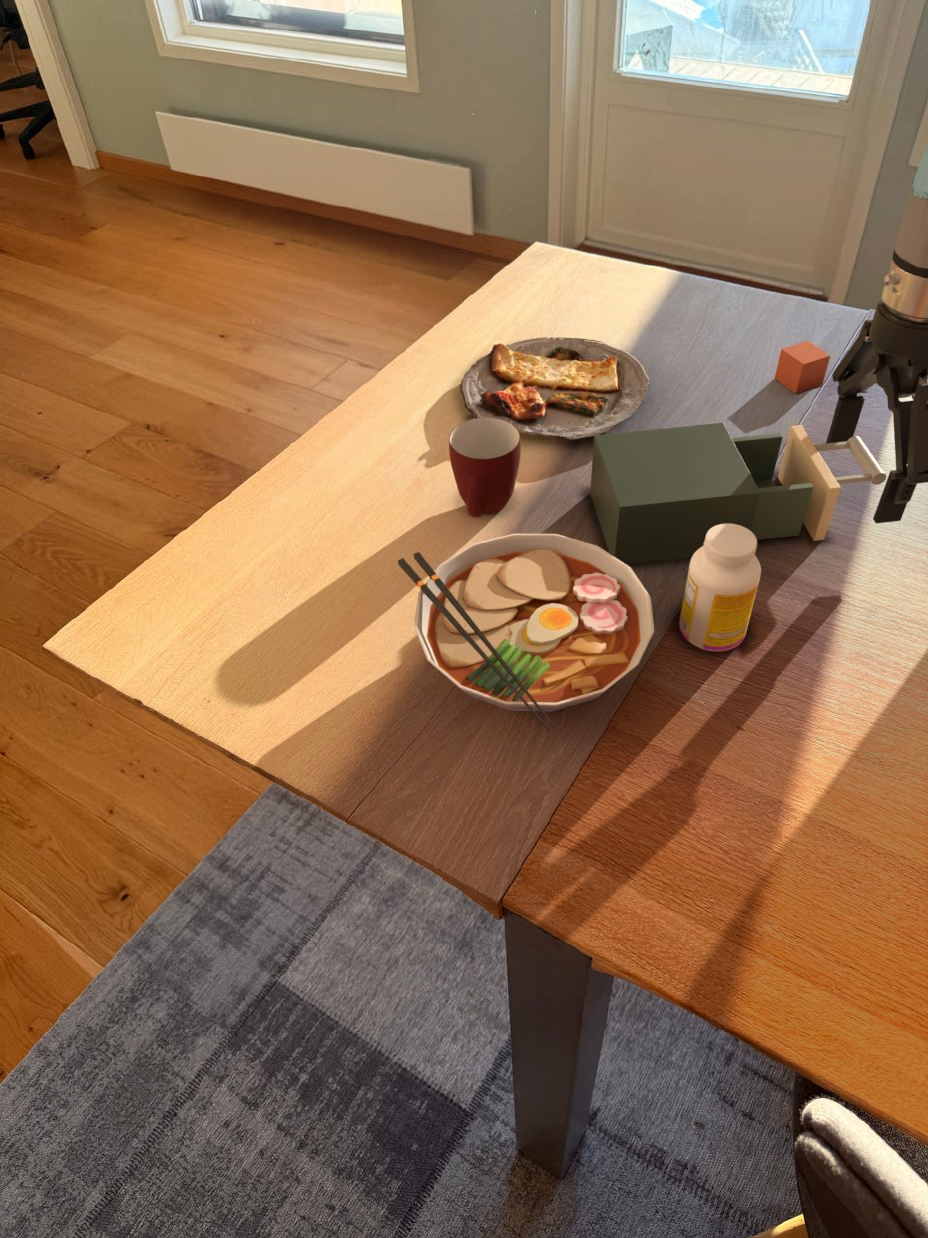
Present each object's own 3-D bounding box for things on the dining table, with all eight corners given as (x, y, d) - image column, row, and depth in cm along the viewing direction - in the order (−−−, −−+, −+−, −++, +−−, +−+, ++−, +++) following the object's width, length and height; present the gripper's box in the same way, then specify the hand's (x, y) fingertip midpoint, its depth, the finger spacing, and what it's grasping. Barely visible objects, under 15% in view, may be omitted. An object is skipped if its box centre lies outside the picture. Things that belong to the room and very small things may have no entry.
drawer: (838, 471, 109) (855, 419, 103) (879, 534, 101) (899, 481, 95) (675, 488, 108) (683, 436, 102) (703, 553, 100) (713, 500, 94)
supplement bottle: (757, 632, 93) (783, 538, 83) (719, 668, 90) (742, 574, 80) (702, 601, 96) (722, 506, 87) (664, 634, 93) (680, 540, 84)
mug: (517, 544, 104) (516, 474, 96) (447, 542, 104) (441, 472, 97) (522, 486, 111) (522, 417, 103) (457, 485, 112) (452, 416, 104)
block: (822, 385, 123) (830, 355, 120) (795, 394, 122) (803, 364, 119) (800, 369, 126) (808, 340, 123) (774, 378, 125) (781, 348, 121)
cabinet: (710, 487, 109) (723, 422, 102) (744, 558, 100) (760, 492, 94) (589, 499, 108) (594, 435, 102) (612, 572, 100) (619, 507, 93)
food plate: (438, 431, 120) (437, 408, 117) (490, 342, 135) (490, 320, 132) (626, 460, 113) (629, 436, 111) (659, 364, 128) (661, 341, 126)
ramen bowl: (702, 697, 87) (715, 640, 81) (499, 804, 80) (498, 750, 74) (557, 550, 103) (560, 493, 97) (376, 629, 95) (367, 572, 90)
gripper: (831, 251, 95) (789, 422, 111) (943, 378, 78) (874, 558, 94) (901, 245, 96) (849, 415, 111) (1027, 369, 78) (945, 551, 94)
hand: (860, 481), depth 102 cm, fingers open, 13 cm apart
